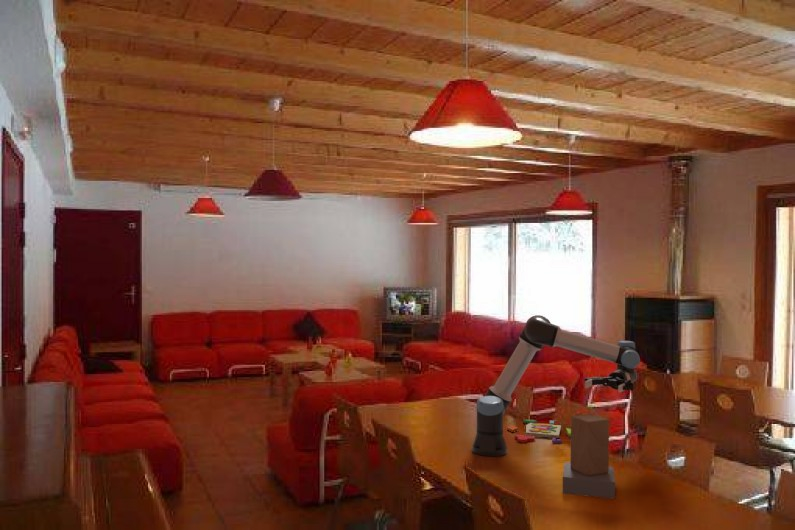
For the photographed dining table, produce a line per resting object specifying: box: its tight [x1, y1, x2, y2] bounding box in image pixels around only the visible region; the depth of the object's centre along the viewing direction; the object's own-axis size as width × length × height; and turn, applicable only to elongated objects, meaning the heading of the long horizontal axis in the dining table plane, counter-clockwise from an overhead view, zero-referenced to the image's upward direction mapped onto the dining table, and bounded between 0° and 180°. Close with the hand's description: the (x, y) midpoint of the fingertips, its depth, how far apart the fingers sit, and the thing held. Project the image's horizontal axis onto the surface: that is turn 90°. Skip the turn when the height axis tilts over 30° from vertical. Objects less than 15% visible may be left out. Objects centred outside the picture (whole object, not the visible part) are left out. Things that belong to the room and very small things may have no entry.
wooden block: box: [569, 413, 610, 476], centre depth 241 cm, size 10×10×20 cm
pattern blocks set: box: [506, 419, 571, 444], centre depth 317 cm, size 38×34×3 cm
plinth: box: [562, 461, 616, 499], centre depth 240 cm, size 18×18×6 cm
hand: (602, 387), depth 259 cm, fingers open, 13 cm apart
